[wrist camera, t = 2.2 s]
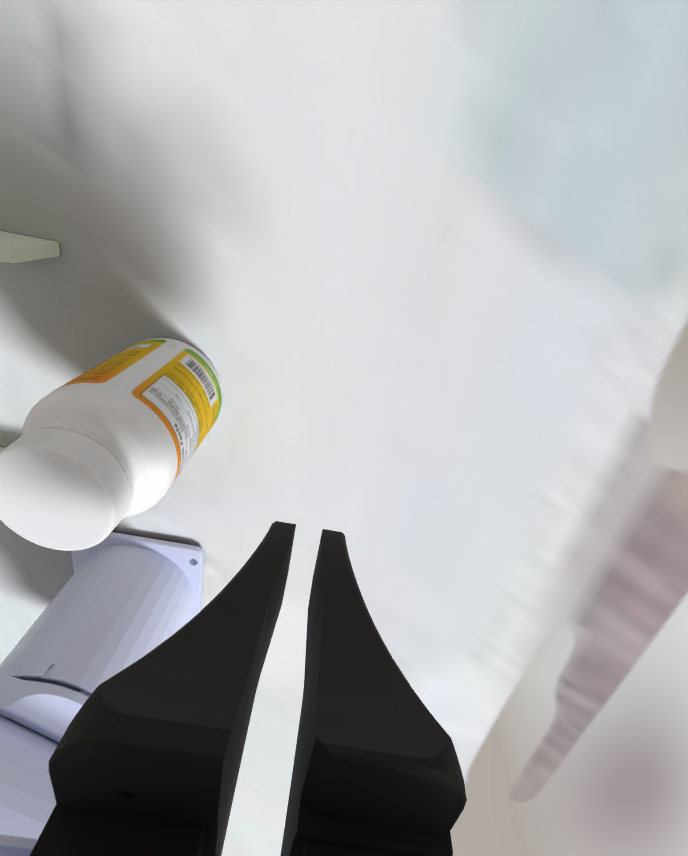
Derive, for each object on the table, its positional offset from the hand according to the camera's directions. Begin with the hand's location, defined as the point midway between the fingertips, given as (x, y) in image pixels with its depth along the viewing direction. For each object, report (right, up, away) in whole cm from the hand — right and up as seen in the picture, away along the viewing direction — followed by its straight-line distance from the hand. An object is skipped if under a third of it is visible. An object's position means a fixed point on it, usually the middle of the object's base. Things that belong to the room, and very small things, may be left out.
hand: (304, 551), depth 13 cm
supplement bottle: (-7, +6, +9) cm, 13 cm away
